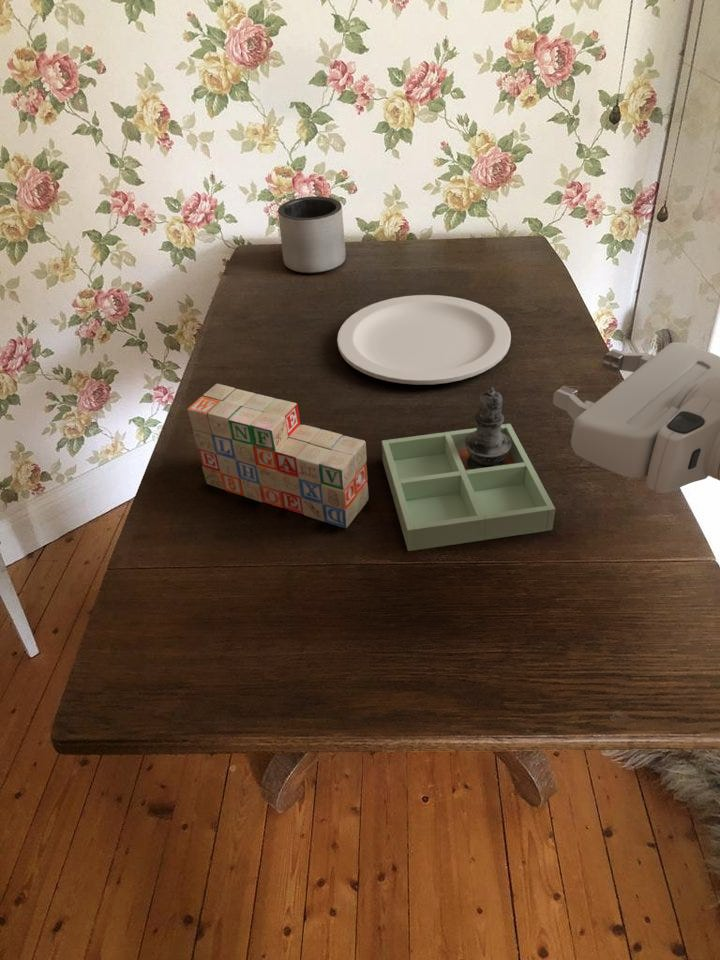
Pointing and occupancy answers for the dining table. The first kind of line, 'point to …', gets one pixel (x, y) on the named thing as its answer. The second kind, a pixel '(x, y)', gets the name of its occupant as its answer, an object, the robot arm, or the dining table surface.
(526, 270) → the dining table surface
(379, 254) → the dining table surface
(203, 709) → the dining table surface
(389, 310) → the plate
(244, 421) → the stack of blocks
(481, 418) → the grey chess piece
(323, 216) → the planter
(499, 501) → the grid
